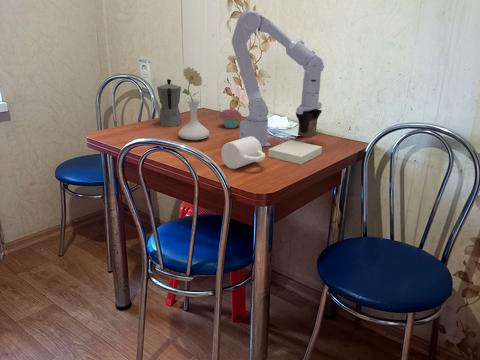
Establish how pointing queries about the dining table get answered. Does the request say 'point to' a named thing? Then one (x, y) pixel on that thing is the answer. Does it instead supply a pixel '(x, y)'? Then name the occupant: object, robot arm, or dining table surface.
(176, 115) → the coffeepot
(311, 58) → the robot arm
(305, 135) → the walnut block
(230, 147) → the mug
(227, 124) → the cupcake
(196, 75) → the flower in vase
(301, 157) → the cream plinth
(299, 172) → the dining table surface
